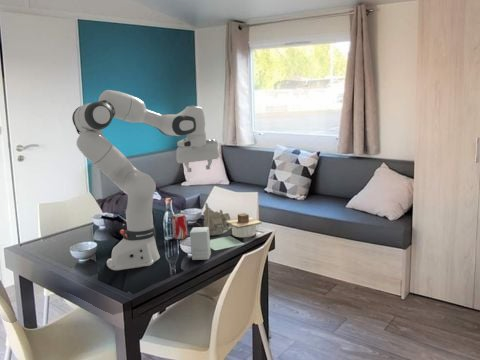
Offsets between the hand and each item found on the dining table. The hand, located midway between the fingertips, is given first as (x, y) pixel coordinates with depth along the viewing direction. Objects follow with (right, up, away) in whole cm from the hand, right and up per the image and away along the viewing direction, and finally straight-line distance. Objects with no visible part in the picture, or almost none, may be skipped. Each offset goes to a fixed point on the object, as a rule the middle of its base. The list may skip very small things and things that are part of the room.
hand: (198, 170), depth 220 cm
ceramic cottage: (+8, -31, +21) cm, 38 cm away
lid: (+21, -26, +11) cm, 35 cm away
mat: (+11, -34, 0) cm, 36 cm away
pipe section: (+21, -31, +12) cm, 40 cm away
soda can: (-10, -33, +12) cm, 37 cm away
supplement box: (+3, -38, -16) cm, 41 cm away
